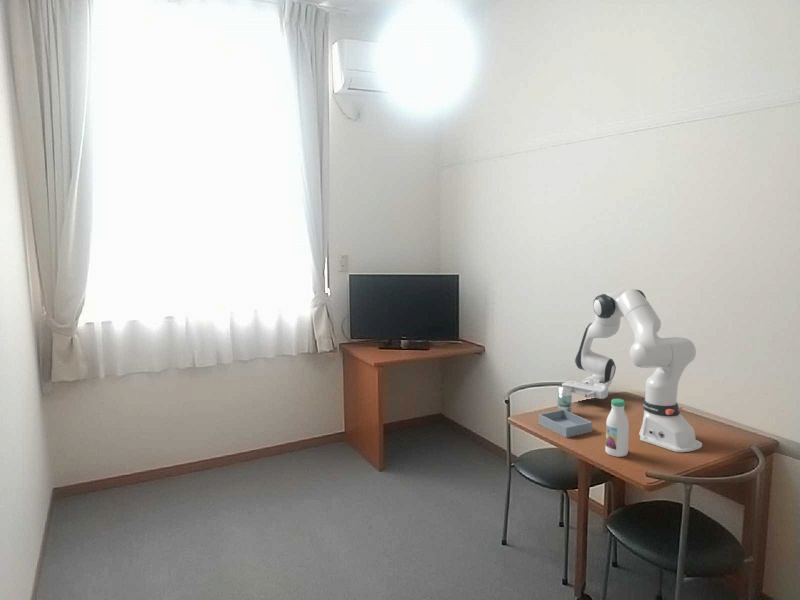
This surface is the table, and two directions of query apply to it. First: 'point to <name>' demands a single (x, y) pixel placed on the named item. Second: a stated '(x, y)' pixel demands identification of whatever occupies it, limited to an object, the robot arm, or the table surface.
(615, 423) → the milk bottle
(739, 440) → the table surface
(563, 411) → the tote
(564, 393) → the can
